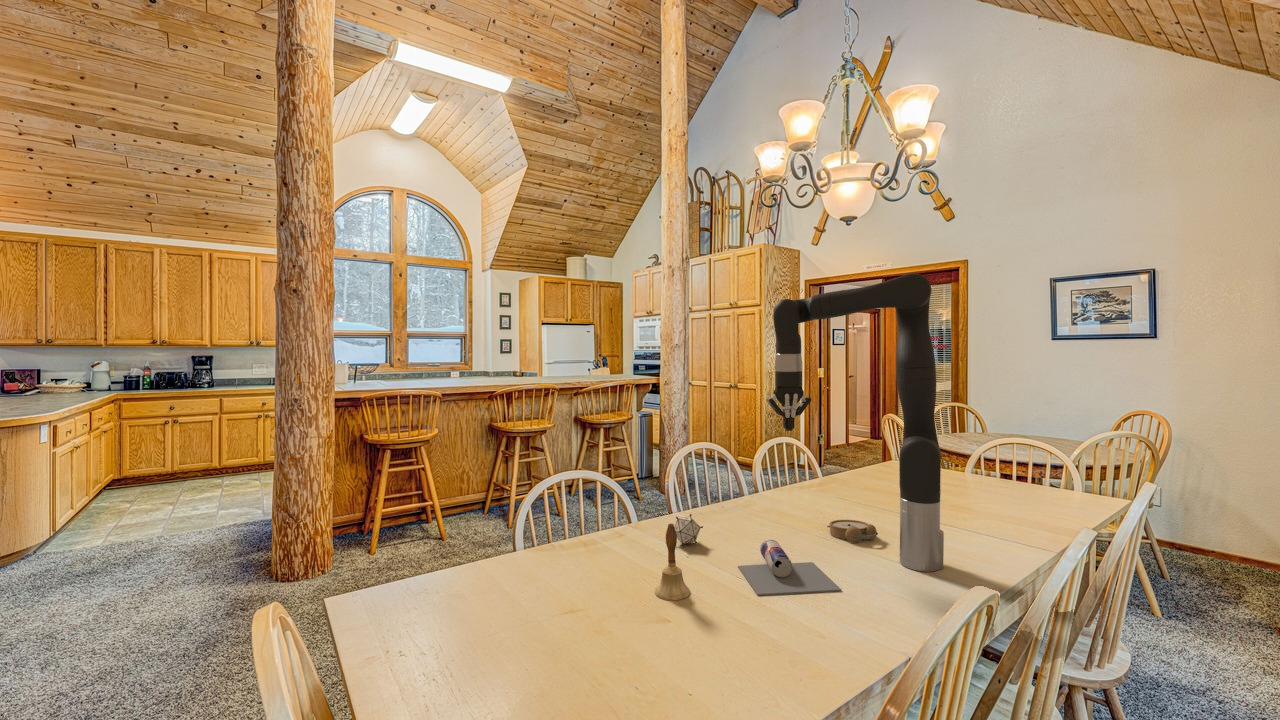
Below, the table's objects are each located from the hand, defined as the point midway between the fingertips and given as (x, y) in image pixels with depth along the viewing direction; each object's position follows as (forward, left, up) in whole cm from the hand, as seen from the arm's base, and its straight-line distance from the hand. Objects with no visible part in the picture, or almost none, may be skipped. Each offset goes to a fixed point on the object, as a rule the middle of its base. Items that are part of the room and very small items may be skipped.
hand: (788, 430), depth 155 cm
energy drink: (+9, +10, -30) cm, 33 cm away
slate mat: (+9, +22, -33) cm, 41 cm away
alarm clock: (-21, -4, -33) cm, 40 cm away
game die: (+29, -4, -33) cm, 44 cm away
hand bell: (+38, +26, -33) cm, 57 cm away
